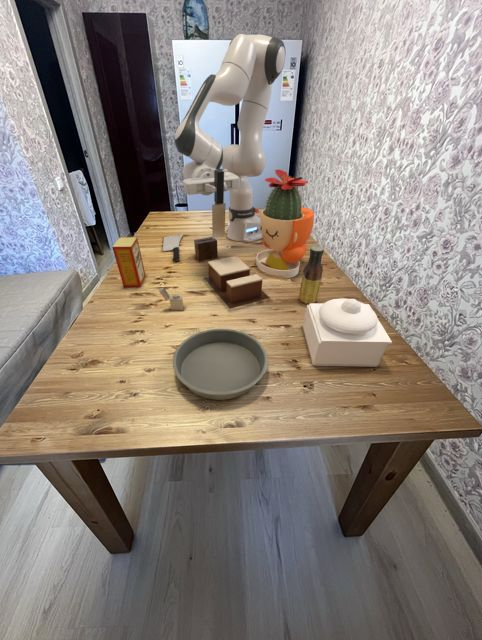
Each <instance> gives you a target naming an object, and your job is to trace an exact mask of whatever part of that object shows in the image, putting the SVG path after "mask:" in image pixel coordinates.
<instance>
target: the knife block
mask: <svg viewBox="0 0 482 640" xmlns="http://www.w3.org/2000/svg"><path fill="white" fill-rule="evenodd" d="M193 245H194V256H195V259H196V260H197V261H198V262H199V263H200V262H205V261H210V260H216V259H218V258H219V255H218V254H219V253H218V240H217V238H214V239H213V238H212V236H208V237H204V238H198V239H197V238H196V239H194V240H193Z"/></svg>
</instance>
